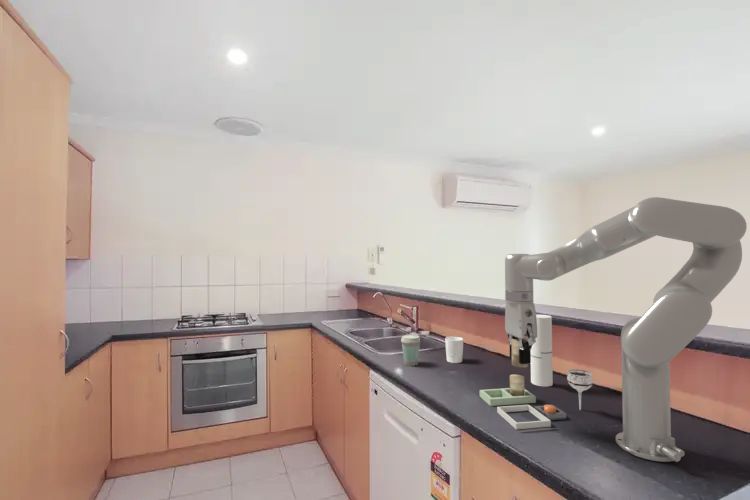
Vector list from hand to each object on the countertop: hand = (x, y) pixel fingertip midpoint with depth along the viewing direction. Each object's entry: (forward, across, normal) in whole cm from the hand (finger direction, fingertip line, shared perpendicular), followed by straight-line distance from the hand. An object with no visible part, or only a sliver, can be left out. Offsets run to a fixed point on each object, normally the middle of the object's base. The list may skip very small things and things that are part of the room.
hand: (519, 360), depth 107 cm
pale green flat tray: (+17, +13, -3) cm, 22 cm away
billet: (+1, 0, 0) cm, 1 cm away
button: (+17, 0, -9) cm, 19 cm away
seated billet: (+16, +13, -6) cm, 22 cm away
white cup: (+18, +60, -3) cm, 63 cm away
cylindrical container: (+18, +25, -22) cm, 38 cm away
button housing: (+17, 0, -9) cm, 20 cm away
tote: (+17, -1, 0) cm, 17 cm away
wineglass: (+18, +2, -20) cm, 27 cm away
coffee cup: (+18, +59, +17) cm, 64 cm away
